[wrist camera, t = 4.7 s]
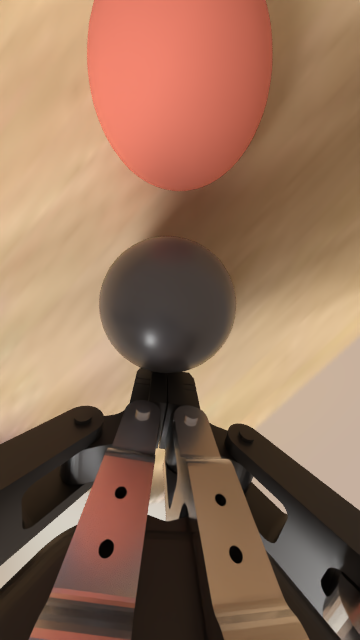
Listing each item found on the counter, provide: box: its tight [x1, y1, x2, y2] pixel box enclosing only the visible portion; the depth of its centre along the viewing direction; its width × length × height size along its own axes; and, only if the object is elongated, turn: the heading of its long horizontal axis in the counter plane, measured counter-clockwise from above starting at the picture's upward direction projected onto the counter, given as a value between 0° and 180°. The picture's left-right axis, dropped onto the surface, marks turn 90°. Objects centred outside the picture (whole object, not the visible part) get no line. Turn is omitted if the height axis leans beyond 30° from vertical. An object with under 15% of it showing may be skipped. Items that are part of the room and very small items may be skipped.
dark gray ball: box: [99, 236, 236, 373], centre depth 10 cm, size 6×6×6 cm
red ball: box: [87, 0, 272, 191], centre depth 8 cm, size 6×6×6 cm
